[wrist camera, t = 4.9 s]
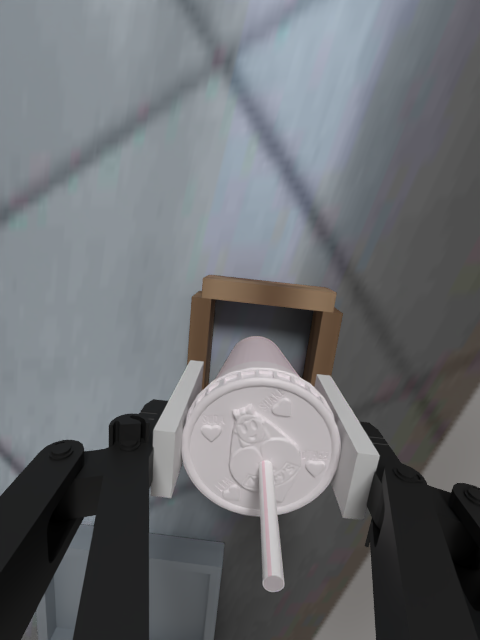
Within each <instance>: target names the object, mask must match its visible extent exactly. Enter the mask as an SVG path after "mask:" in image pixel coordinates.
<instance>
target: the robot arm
mask: <svg viewBox="0 0 480 640" xmlns="http://www.w3.org/2000/svg"><path fill="white" fill-rule="evenodd" d="M203 366H204V362H203V361H194V360H190V362H189V364H188V365H187V367H186V369H185V371H184V373H183V375H182V377H181V379H180V381H179V382H178V384H177V386H176V388H175V390H174V392H173V394H172V396H171V398H170V399H169V401H163V400H154V399H153V400H152V401H150V402H149V403H147V404H145V406H144V407H143V409H142V410H141V413H139V414H125V415H121V416H119V417H116V418H115V419H114V420H112V421H111V423H110V424H109V448H106V449H101V450H94V451H85V452H84V447H83V444H81V443H80V442H79V441H75V440H62V441H58V442H55V443H52V444H50V445H48V446H46V447H45V448H44V449H43V450H41V451H40V452H39V454H38V455H37V456H36V457H35V458H34V459H33V460H32V461H31V462H30V464H29V465H28V466H27V467H26V468H25V469H24V470H23V471H22V473H21V474H20V475H19V476H18V477H17V478H16V479H15V480H14V481H13V483H12V484H11V485H10V486H9V487H8V488H7V489H6V490H5V492H4V493H3V494H2V495H1V496H0V640H21V638H22V636H23V634H24V632H25V630H26V628H27V627H28V625H29V623H30V621H31V619H32V617H33V615H34V613H35V611H36V609H37V607H38V605H39V603H40V601H41V600H42V598H43V596H44V594H45V592H46V590H47V588H48V586H49V584H50V582H51V580H52V578H53V576H54V574H55V573H56V571H57V569H58V567H59V565H60V563H61V561H62V559H63V557H64V555H65V553H66V551H67V549H68V547H69V546H70V544H71V542H72V540H73V538H74V536H75V534H76V532H77V530H78V528H79V526H80V524H81V522H82V520H83V519H84V517H87V516H93V515H96V518H95V523H94V528H93V534H92V539H91V544H90V550H89V555H88V560H87V566H86V571H85V576H84V581H83V587H82V592H81V597H80V603H79V608H78V613H77V619H76V624H75V629H74V635H73V640H149V488H150V486H151V496H157V497H166V498H171V497H172V494H173V491H174V488H175V485H176V481H177V478H178V475H179V472H180V469H181V466H182V462H183V459H182V453H181V445H182V433H183V429H184V426H185V424H186V419H187V414H188V410H189V408H190V407H191V405H192V403H193V402H194V400H195V399H196V397H197V395H198V394H199V393H200V392H201V391H202V378H203ZM314 388H315V389H316V390H317V391H318V392H319V393H320V394H321V395H322V396H323V397H324V398H325V400H326V401H327V403H328V405H329V407H330V409H331V411H332V413H333V415H334V420H335V422H336V425H337V427H338V431H339V434H340V440H341V453H340V458H339V463H338V467H337V470H336V473H335V475H334V477H333V479H332V480H331V484H332V487H333V490H334V493H335V496H336V499H337V502H338V505H339V508H340V511H341V513H342V516H343V518H350V519H359V520H364V517H365V513H366V509H367V507H368V509H369V512H370V514H371V516H372V520H371V524H370V527H369V531H368V535H367V539H366V543H365V546H366V547H369V543H370V548H371V564H372V580H373V594H374V611H375V628H376V640H480V488H477V487H476V486H473V485H469V484H465V483H457V484H455V485H454V486H453V489H452V492H451V493H450V492H447V491H443V490H440V489H437V488H434V487H431V486H429V485H427V483H426V481H425V479H424V477H423V476H422V475H421V474H420V473H419V472H417V471H416V470H414V469H413V468H411V467H409V466H406V465H404V464H402V463H401V462H400V461H399V459H398V458H397V456H396V455H395V453H394V452H393V451H392V449H391V448H390V446H389V445H388V443H387V442H386V441H385V439H383V436H382V435H381V433H380V432H379V430H378V429H376V428H375V427H374V426H372V425H371V424H370V423H367V422H359V421H358V419H357V418H356V416H355V415H354V413H353V411H352V410H351V408H350V407H349V405H348V403H347V402H346V400H345V398H344V397H343V395H342V394H341V392H340V390H339V389H338V387H337V386H336V384H335V382H334V381H333V379H332V378H331V376H329V375H320V374H317V375H316V381H315V386H314Z"/></svg>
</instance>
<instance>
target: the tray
mask: <svg viewBox="0 0 480 640" xmlns="http://www.w3.org/2000/svg"><path fill="white" fill-rule="evenodd" d="M93 528H94V526H89V525H81V524H80V526H79V528H78V530H77V532H76V534H75V536H74V538H73V540H72V542H71V544H70V546H69V547H68V549H67V551H66V553H65V555H64V557H63V559H62V561H61V563H60V565H59V567H58V569H57V571H56V573H55V574H54V576H53V578H52V580H51V582H50V584H49V586H48V588H47V590H46V592H45V594H44V596H43V598H42V600H41V601H40V603H39V605H38V607H37V609H36V615H37V629H38V640H73V635H74V629H75V624H76V619H77V613H78V608H79V603H80V597H81V592H82V587H83V581H84V576H85V571H86V566H87V560H88V555H89V550H90V544H91V539H92V534H93ZM224 544H225V543H223V542H215V541H207V540H199V539H191V538H183V537H176V536H168V535H160V534H152V533H149V640H214V633H215V624H216V616H217V607H218V598H219V590H220V581H221V573H222V564H223V554H224Z"/></svg>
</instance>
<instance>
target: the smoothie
mask: <svg viewBox="0 0 480 640" xmlns="http://www.w3.org/2000/svg"><path fill="white" fill-rule="evenodd" d="M181 453H182V459H183V463H184V466H185V469H186V471H187V474H188V476H189V477H190V479H191V481H192V482H193V483H194V485H195V486H196V487H197V488H198V490H199V491H200V492H201V493H202V494H203V495H204V496H206V497H207V498H208V499H209V500H211V501H212V502H214V503H215V504H217V505H219V506H221V507H223V508H225V509H227V510H229V511H232V512H235V513H239V514H243V515H249V516H258V517H259V516H260V523H261V551H262V578H263V587H264V588H265V589H266V590H268V591H270V592H277V591H280V590H281V589H283V587H284V574H283V564H282V554H281V544H280V534H279V525H278V515H280V514H285V513H288V512H291V511H294V510H296V509H299V508H301V507H303V506H304V505H306V504H308V503H309V502H311V501H313V500H314V499H315V498H316V497H317V496H319V495H320V494H321V493H322V492H323V491H324V490H325V488H326V487H327V486H328V485H329V483H330V482H331V480H332V479H333V477H334V475H335V473H336V470H337V467H338V463H339V458H340V453H341V440H340V434H339V431H338V427H337V425H336V422H335V420H334V415H333V413H332V411H331V409H330V407H329V405H328V403H327V401H326V400H325V398H324V397H323V396H322V395H321V394H320V393H319V392H318V391H317V390H316V389H315V388H314V387H313V386H312V385H311V384H310V383H309V382H307V381H305V380H304V379H302V378H300V377H299V375H298V374H297V373H296V371H295V370H294V369H293V367H292V366H291V364H290V363H289V362H288V360H287V359H286V358H285V356H284V355H283V353H282V352H281V351H280V349H279V348H278V347H277V345H276V344H275V343H274V342H272V341H271V340H269V339H267V338H265V337H261V336H251V337H247V338H245V339H243V340H241V341H240V342H238V343H237V344H236V345H235V347H234V348H233V350H232V351H231V353H230V355H229V356H228V358H227V360H226V361H225V363H224V365H223V367H222V368H221V370H220V372H219V373H218V375H217V377H216V378H215V380H213V381H212V382H211V383H210V384H209V385H208V386H207V387H205V388H204V389H203V390H202V391H201V392H200V393H199V394H198V395H197V397H196V399H195V400H194V402H193V403H192V405H191V407H190V408H189V410H188V414H187V419H186V424H185V426H184V429H183V433H182V445H181Z"/></svg>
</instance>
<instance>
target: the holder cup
mask: <svg viewBox="0 0 480 640" xmlns="http://www.w3.org/2000/svg"><path fill="white" fill-rule="evenodd" d="M216 299H217V300H226V301H234V302H243V303H252V304H261V305H270V306H279V307H288V308H297V309H306V310H314V312H313V318H312V324H311V330H310V336H309V342H308V348H307V354H306V360H305V366H304V372H303V378H302V379H304V380H305V381H307V382H309V383H310V384H311V385H312V386H313V387H314V386H315V381H316V375H317V374H320V375H329V376H331V374H332V369H333V363H334V358H335V353H336V348H337V342H338V337H339V332H340V326H341V321H342V316H343V313H341V312H340V311H339V310H337V309H336V308H335V307H334V304H335V299H336V292H334V291H332V290H330V289H328V288H325V287H316V286H307V285H298V284H289V283H280V282H271V281H262V280H253V279H243V278H234V277H225V276H216V275H208V276H206V277H204V278H203V285H202V291H199V292H197V293H196V294H195V295H193V296H192V302H191V316H190V331H189V346H188V360H187V365H188V364H189V362H190V360H194V361H203V362H204V366H203V378H202V390H203V389H204V388H205V387H207V386H208V385H209V384H208V383H209V372H210V360H211V349H212V337H213V326H214V314H215V303H216Z"/></svg>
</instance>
